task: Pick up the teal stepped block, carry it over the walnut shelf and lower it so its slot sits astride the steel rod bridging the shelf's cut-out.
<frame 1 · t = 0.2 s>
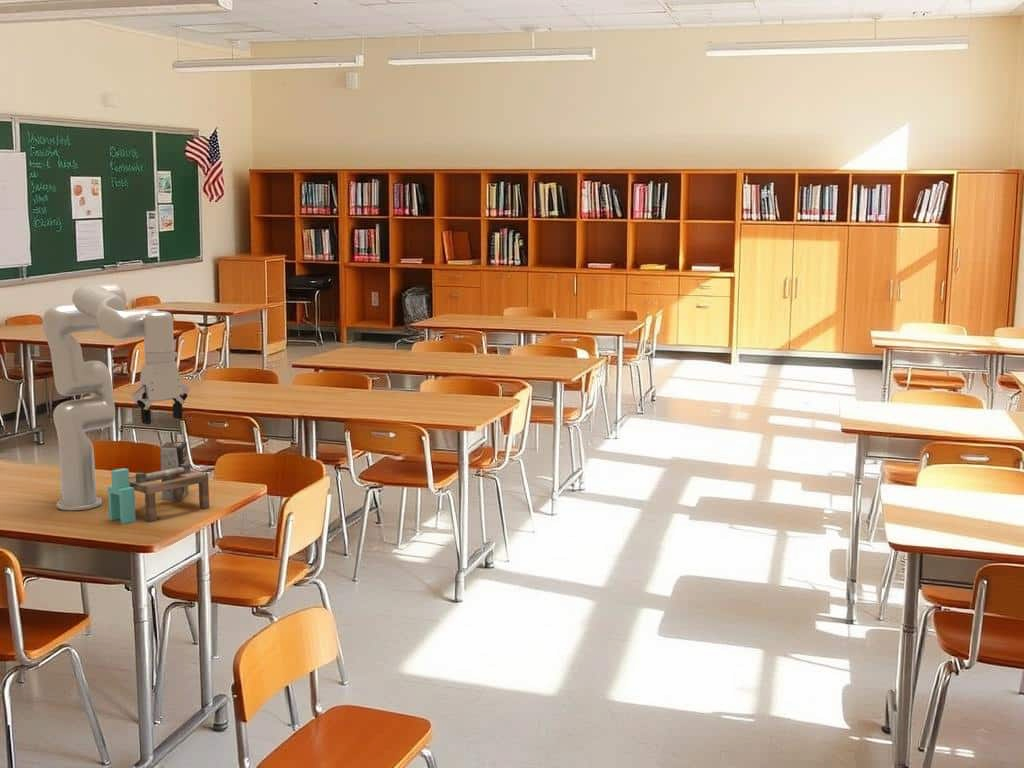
hand: (162, 421, 305), 31 cm above the table, tool pointing down, fingers open, 9 cm apart
teal stepped block: (122, 520, 322), on the table
shelf: (165, 510, 332), on the table
coffee box: (175, 496, 349), on the table
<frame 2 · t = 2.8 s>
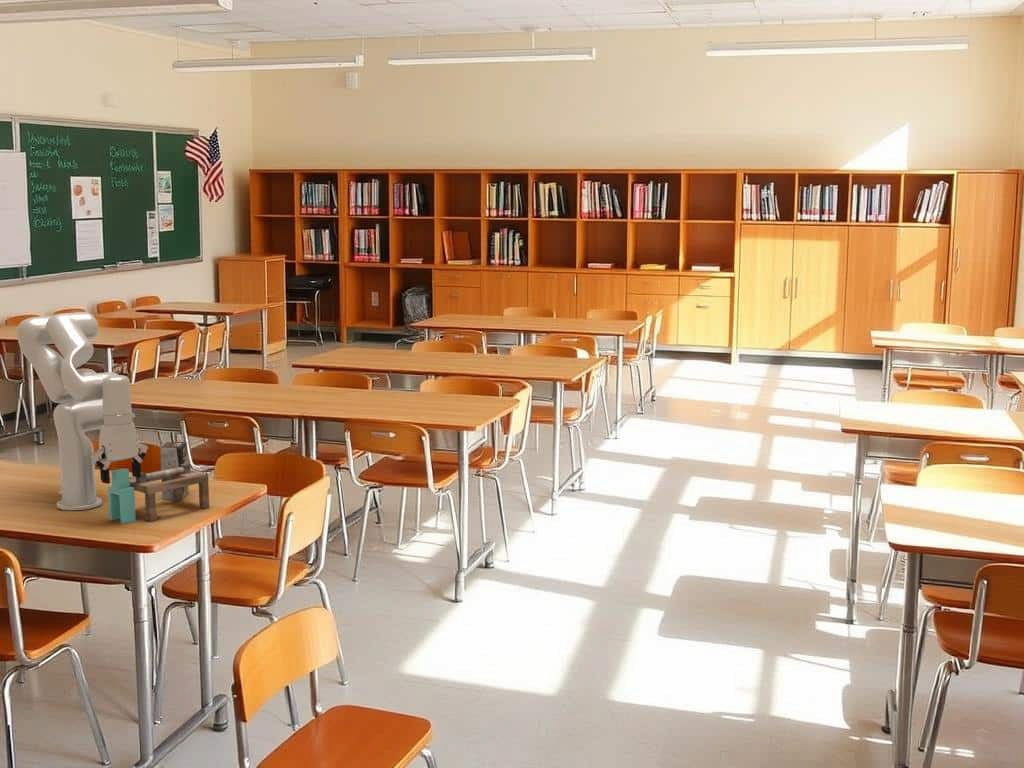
hand: (121, 479, 319), 12 cm above the table, tool pointing down, fingers open, 9 cm apart
nothing on the table moved.
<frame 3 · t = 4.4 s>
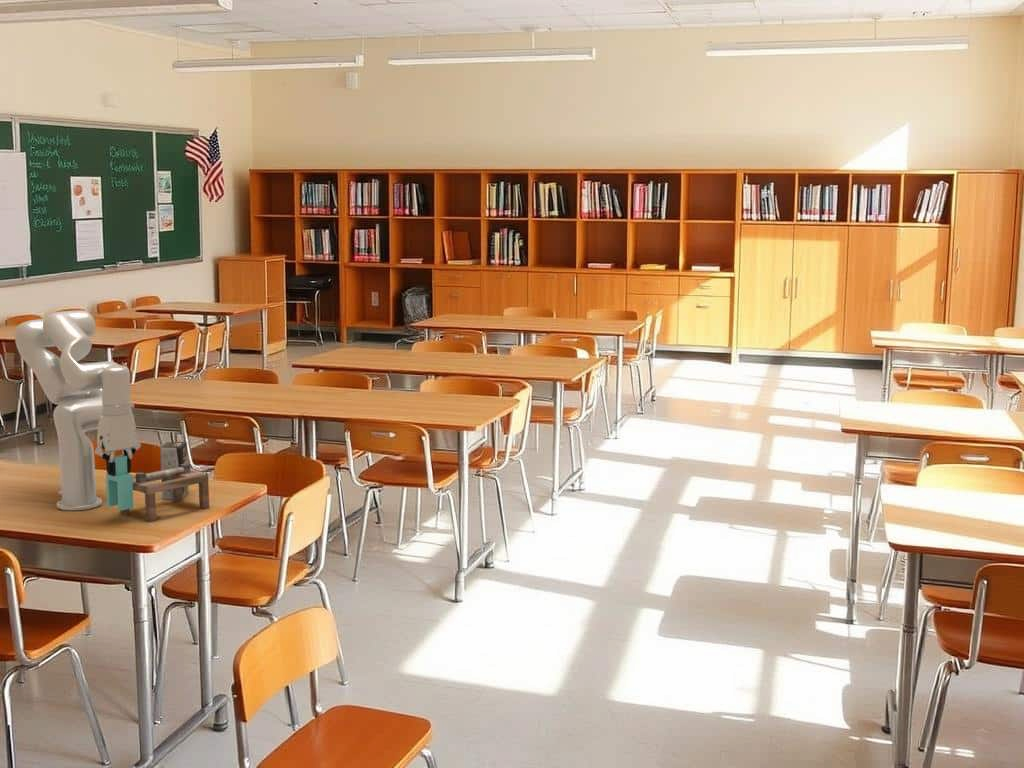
hand: (119, 473, 320), 14 cm above the table, tool pointing down, fingers closed on teal stepped block, 4 cm apart
teal stepped block: (120, 506, 322), point 4 cm above the table, touching gripper
everything else where it was.
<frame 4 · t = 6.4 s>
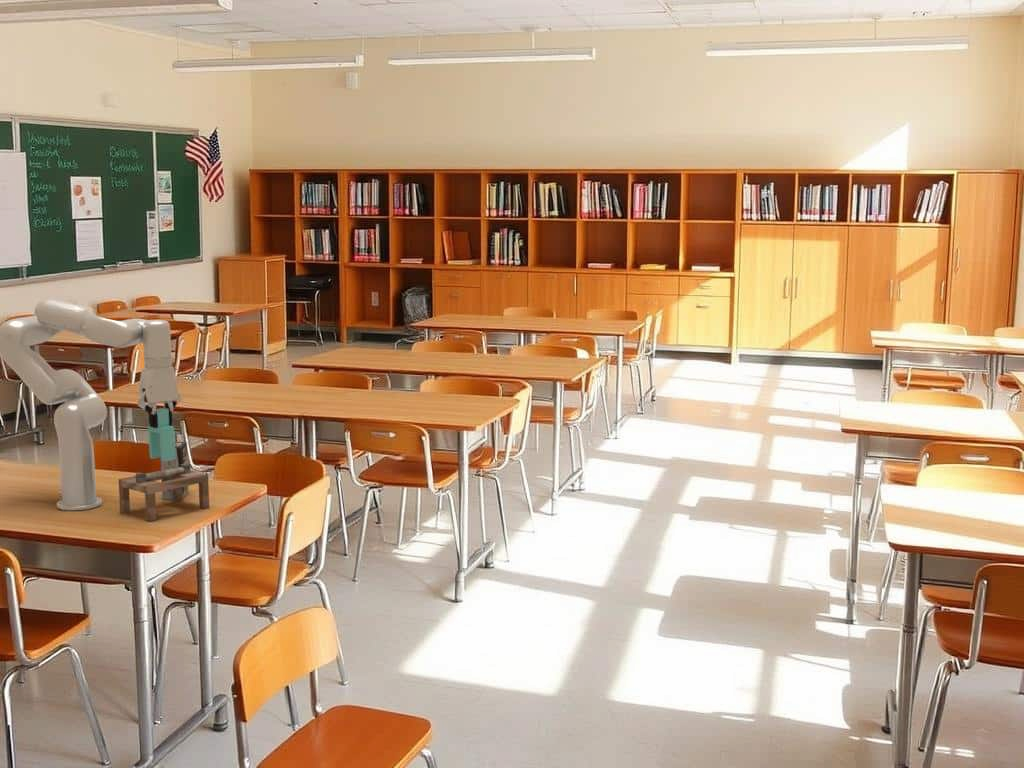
hand: (160, 425, 328), 25 cm above the table, tool pointing down, fingers closed on teal stepped block, 4 cm apart
teal stepped block: (162, 458, 330), point 15 cm above the table, touching gripper
everything else where it was.
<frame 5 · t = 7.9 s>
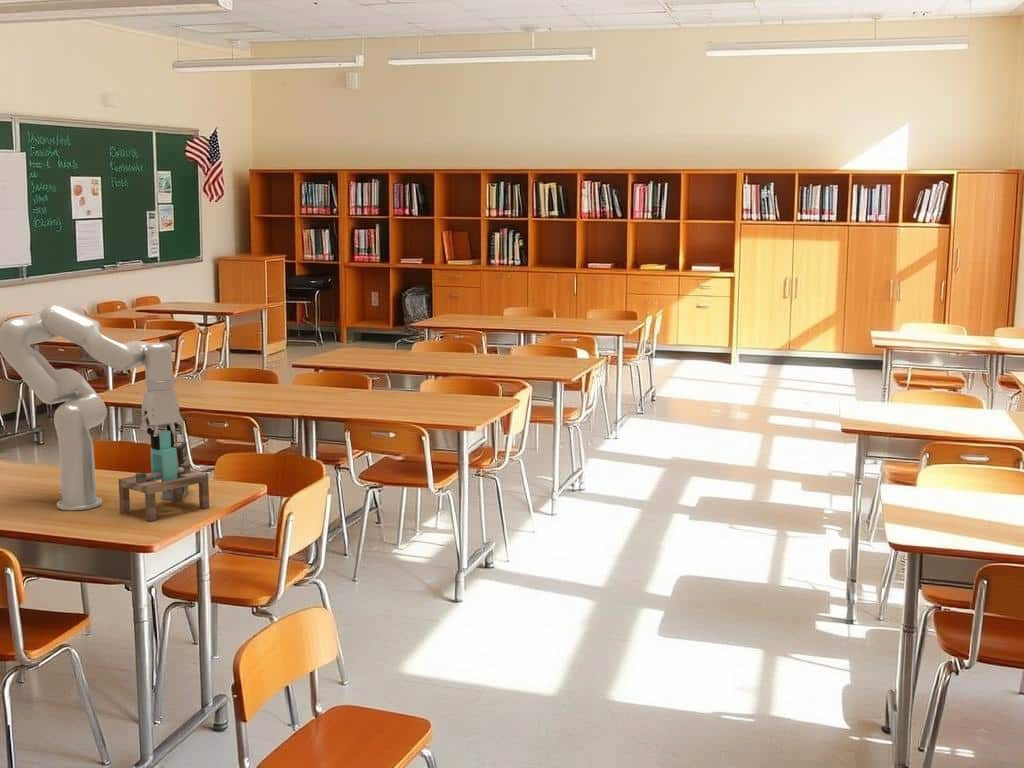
hand: (162, 447, 329), 19 cm above the table, tool pointing down, fingers closed on teal stepped block, 4 cm apart
teal stepped block: (164, 480, 331), point 9 cm above the table, touching gripper
everything else where it was.
when the fingers open (15 cm above the table, at t = 9.2 s): teal stepped block drops 1 cm, resting on shelf.
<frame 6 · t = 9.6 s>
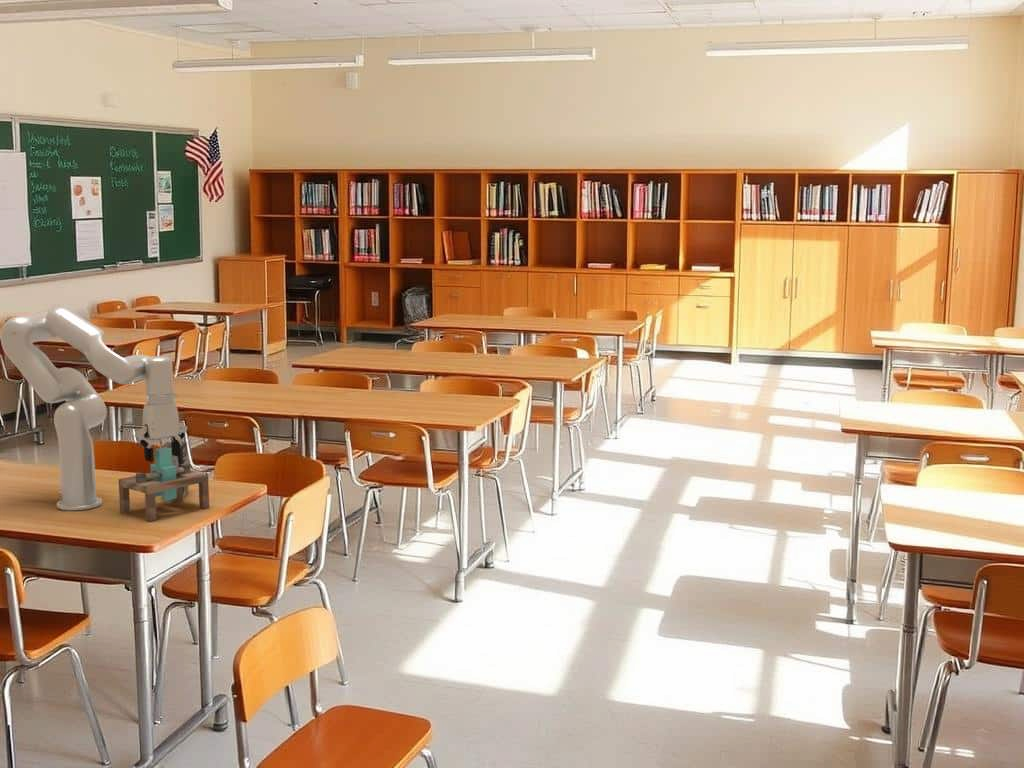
hand: (162, 458, 330), 16 cm above the table, tool pointing down, fingers open, 8 cm apart
teal stepped block: (163, 497, 332), point 4 cm above the table, touching shelf
everything else where it was.
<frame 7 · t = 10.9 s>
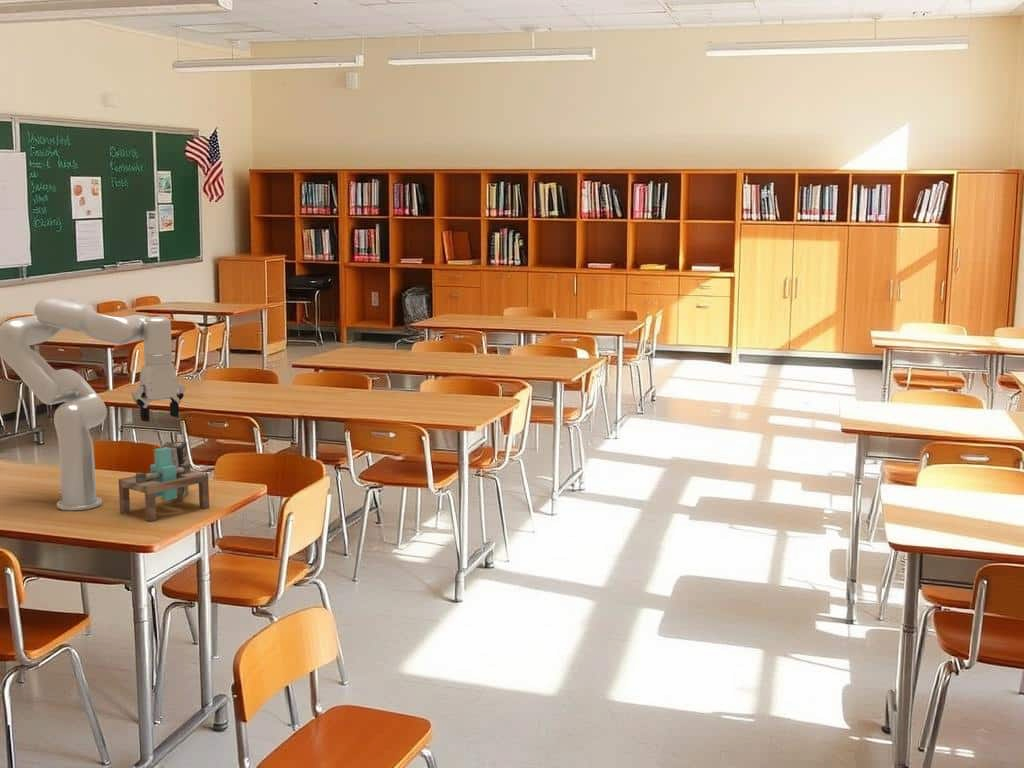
hand: (160, 418, 328), 27 cm above the table, tool pointing down, fingers open, 9 cm apart
nothing on the table moved.
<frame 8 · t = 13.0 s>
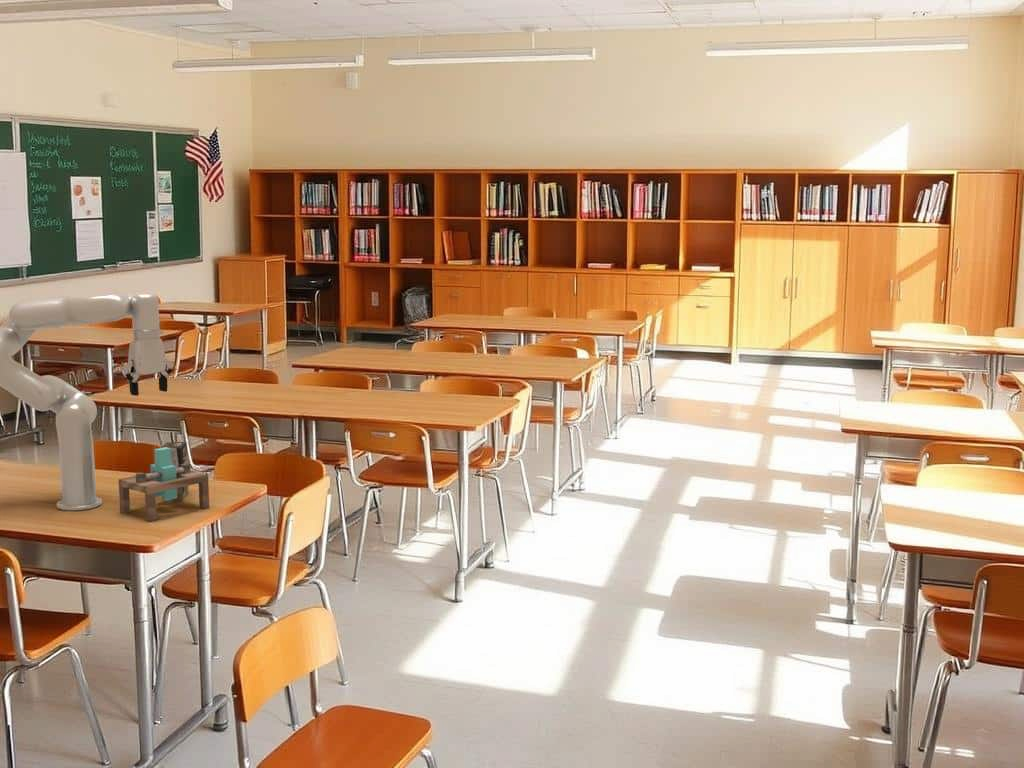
hand: (149, 393, 336), 33 cm above the table, tool pointing down, fingers open, 9 cm apart
nothing on the table moved.
at the end: teal stepped block 0.1 cm off-centre on the shelf, point 3.8 cm above the shelf's base; teal stepped block touching shelf; teal stepped block tilted 1° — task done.
